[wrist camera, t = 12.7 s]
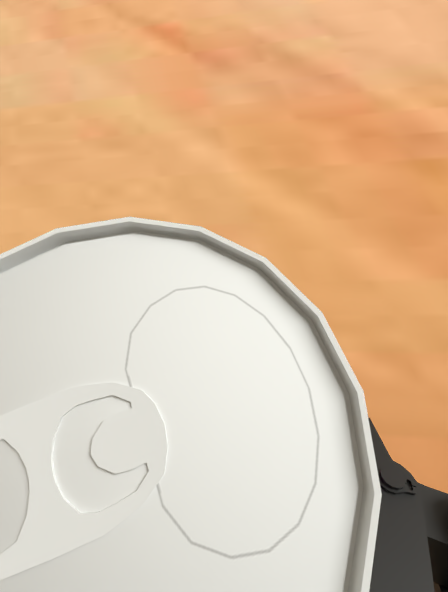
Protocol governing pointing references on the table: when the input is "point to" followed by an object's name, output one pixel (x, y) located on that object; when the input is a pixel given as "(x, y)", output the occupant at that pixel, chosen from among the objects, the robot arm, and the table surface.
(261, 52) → the table surface
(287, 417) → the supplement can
